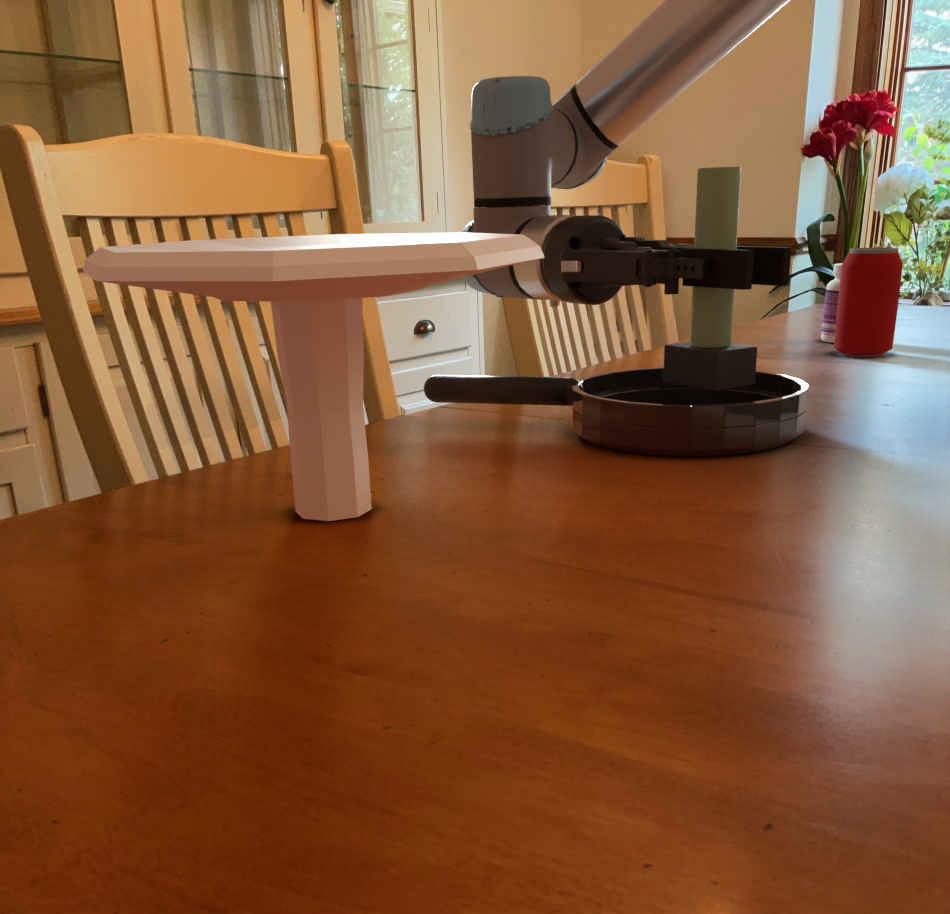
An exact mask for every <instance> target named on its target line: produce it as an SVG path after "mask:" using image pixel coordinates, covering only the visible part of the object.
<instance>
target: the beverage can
mask: <svg viewBox="0 0 950 914" xmlns="http://www.w3.org/2000/svg"><path fill="white" fill-rule="evenodd" d="M841 263H842V269H841V278H840V287H839V297H838V307H837V317H836V328H835V339H834V343H833V348H834V350H836V351H837V352H838V353H840V355H841V356H845V357H852V358H877V357H882V356H884V355H885V354H886V353H888V352H890V351H891V350H892V349H893V346H894V340H895V334H896V333H895V331H896V323H897V318H898V309H899V302H900V301H899V300H900V293H901V292H900V291H901V285H902V275H903V266H904V263H903V260H902V257H901V255H900V253H899V248H898V247H882V246H881V247H853V248H849V252H848V254H847V255H846V257H845V258H844V260H843V262H841Z"/></svg>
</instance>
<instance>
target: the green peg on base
mask: <svg viewBox="0 0 950 914" xmlns="http://www.w3.org/2000/svg"><path fill="white" fill-rule="evenodd" d="M696 175H697V177H696V198H695V219H694V220H695V224H694V242H693V243H694V248H698V249H737V244H738V232H739V217H740V214H739V213H740V197H741V181H742V166H716V167H715V166H714V167H699V168H697V174H696ZM691 287H692V289H691V309H690V310H691V313H690V333H689V335H690V336H689V341H685V342H676V343H670V344H664V348H663V349H664V350H663V351H664V352H663V367H664V374H663V382H665V383H671V384H676V385H682V386H688V387H693V388H699V389H705V390H711V391H720V390H726V389H732V388H738V387H744V386H750V385H754V384H755V375H756V370H757V360H758V359H757V358H758V346H756V345H750V344H741V343H733V342H732V333H733V316H734V315H733V314H734V299H735V289H724V288H709V287H694V286H691Z"/></svg>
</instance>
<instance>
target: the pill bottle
mask: <svg viewBox="0 0 950 914" xmlns="http://www.w3.org/2000/svg"><path fill="white" fill-rule="evenodd" d="M842 263H843V262H841V263H835V264H833V271H832V275H833V276H834V279H832V280H830V281H829V282H828V283H827V284H826V287H825V294H824V304H823V314H822V322H821V335H820V339H821V341H823V342H825V343H830V344H834V339H835V328H836V317H837V307H838V297H839V287H840V278H841V269H842Z"/></svg>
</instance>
